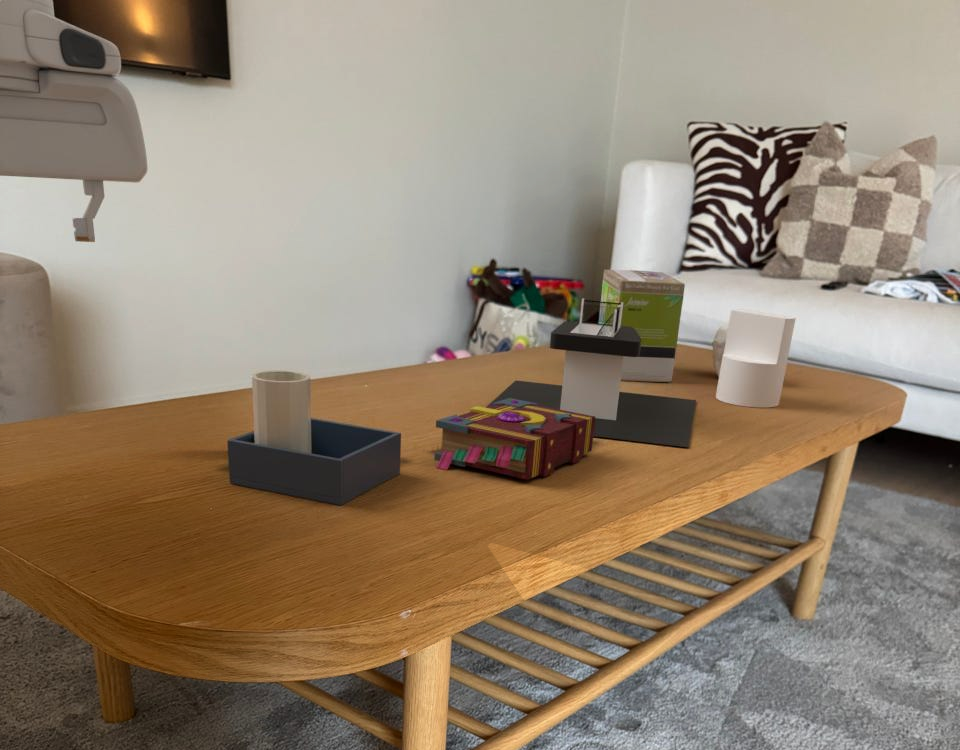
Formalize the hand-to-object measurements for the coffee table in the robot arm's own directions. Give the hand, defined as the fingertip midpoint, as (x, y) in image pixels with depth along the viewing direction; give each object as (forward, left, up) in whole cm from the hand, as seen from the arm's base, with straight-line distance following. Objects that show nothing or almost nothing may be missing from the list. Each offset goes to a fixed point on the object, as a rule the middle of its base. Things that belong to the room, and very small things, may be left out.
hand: (22, 240), depth 77 cm
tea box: (+78, +56, -20) cm, 98 cm away
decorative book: (+45, +6, -20) cm, 49 cm away
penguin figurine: (+96, +52, -20) cm, 111 cm away
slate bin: (+23, 0, -20) cm, 31 cm away
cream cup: (+20, 0, -20) cm, 28 cm away
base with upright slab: (+88, +37, -20) cm, 98 cm away
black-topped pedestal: (+62, +29, -20) cm, 71 cm away
